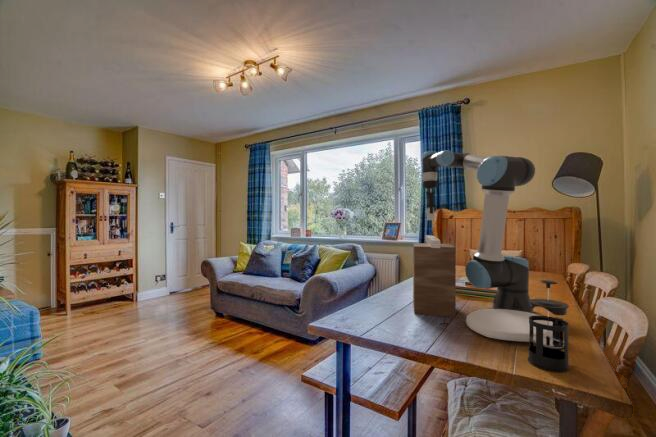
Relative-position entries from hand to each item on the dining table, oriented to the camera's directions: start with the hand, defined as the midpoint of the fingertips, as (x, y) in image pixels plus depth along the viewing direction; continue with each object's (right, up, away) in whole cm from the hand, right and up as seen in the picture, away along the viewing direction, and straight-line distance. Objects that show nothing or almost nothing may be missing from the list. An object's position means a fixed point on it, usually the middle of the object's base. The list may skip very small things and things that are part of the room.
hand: (430, 220), depth 168 cm
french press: (+6, -39, -82) cm, 91 cm away
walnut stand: (-10, -39, -33) cm, 52 cm away
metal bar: (-9, -11, -30) cm, 33 cm away
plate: (+8, -39, -59) cm, 71 cm away
